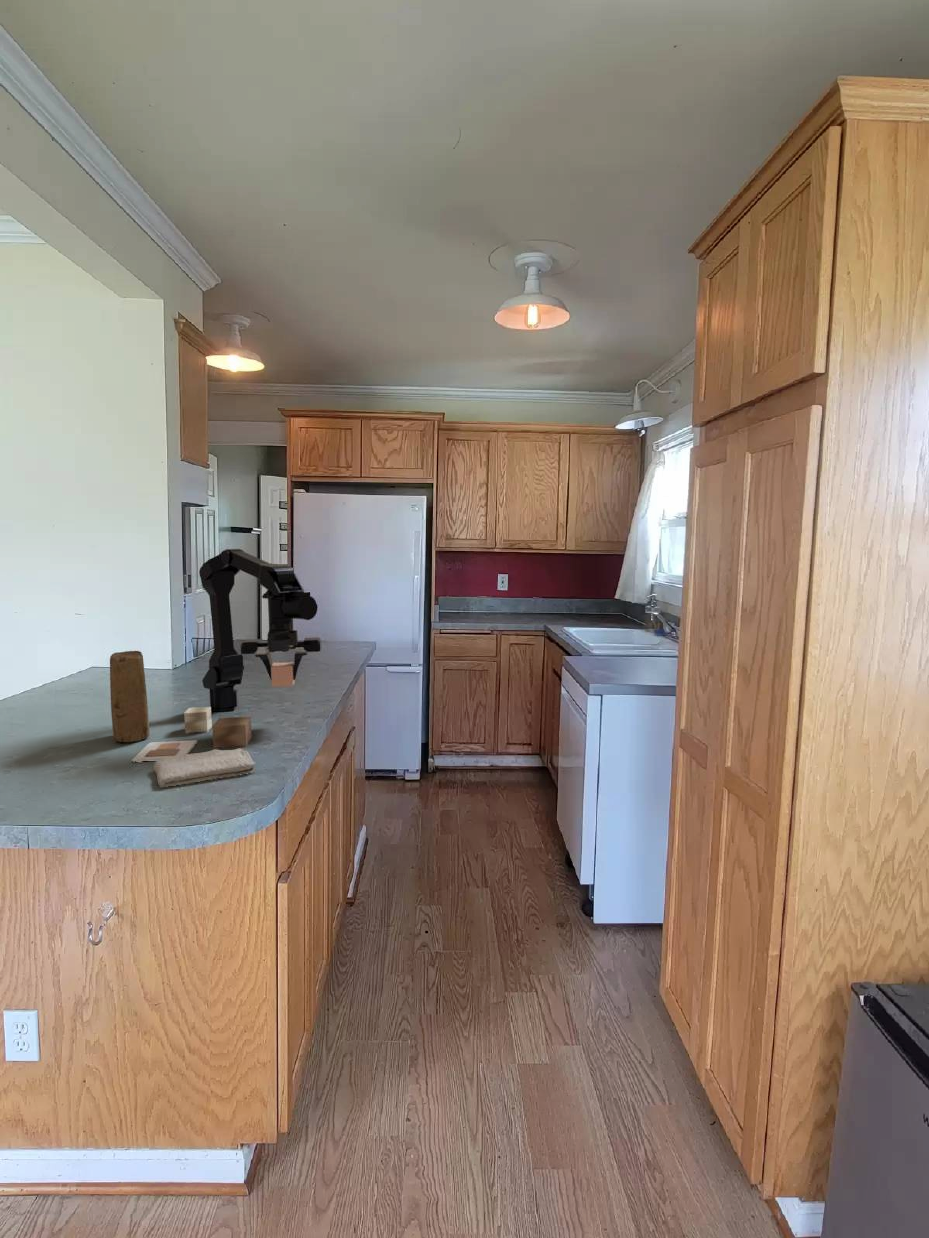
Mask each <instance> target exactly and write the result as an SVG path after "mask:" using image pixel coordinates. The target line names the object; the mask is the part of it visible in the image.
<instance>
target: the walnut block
mask: <svg viewBox="0 0 929 1238" xmlns="http://www.w3.org/2000/svg"><path fill="white" fill-rule="evenodd" d="M251 718H252V717H251V716H240V717H239V716H237V717H218V719H217V720H216V722H215V723H214V724H212V727H211V728H212V729H211V730H212V743H213V744H212V747H213V749H217V748H216V747H221V748H231V747H230V746H241V747H247V746H248V744H249V743H248V742H250V741H251V738H252V737H253V735H252V719H251ZM249 740H250V741H249ZM228 746H229V747H228Z"/></svg>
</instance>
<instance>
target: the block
mask: <svg viewBox="0 0 929 1238" xmlns="http://www.w3.org/2000/svg"><path fill="white" fill-rule="evenodd" d="M144 663H145V662H144V656H143V653H142V652H141V651H140V650H139V651H138V650H127V651H126V650H125V651H121V652H114V653H112V654H111V655H110V658H109V682H110V684H109V685H110V692H109V693H110V712H111V722H112V723H111V724H112V731H113V733H112V734H113V739H114V740H115V741H116V742H117V743H121V742H123V743H135V742H139V741H142V739H143V740H145V739H147V738H149V736H150V724H149V722H150V721H149V720H150V719H149V706H148V697H147V696H148V694H147V685H146V675H145V664H144ZM134 741H135V742H134Z"/></svg>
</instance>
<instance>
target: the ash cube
mask: <svg viewBox="0 0 929 1238" xmlns="http://www.w3.org/2000/svg"><path fill="white" fill-rule="evenodd" d="M183 714H184V715H183V716H184V732H185V734H190V733H189V732H201V733H208V732H209V731H210V730H211V728H212V726H213V723H212V722H213V721H212V711H211V707H210V706H198V707H197V706H196V707H188V709H187V710H186V711H184V712H183ZM209 729H210V730H209Z"/></svg>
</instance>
